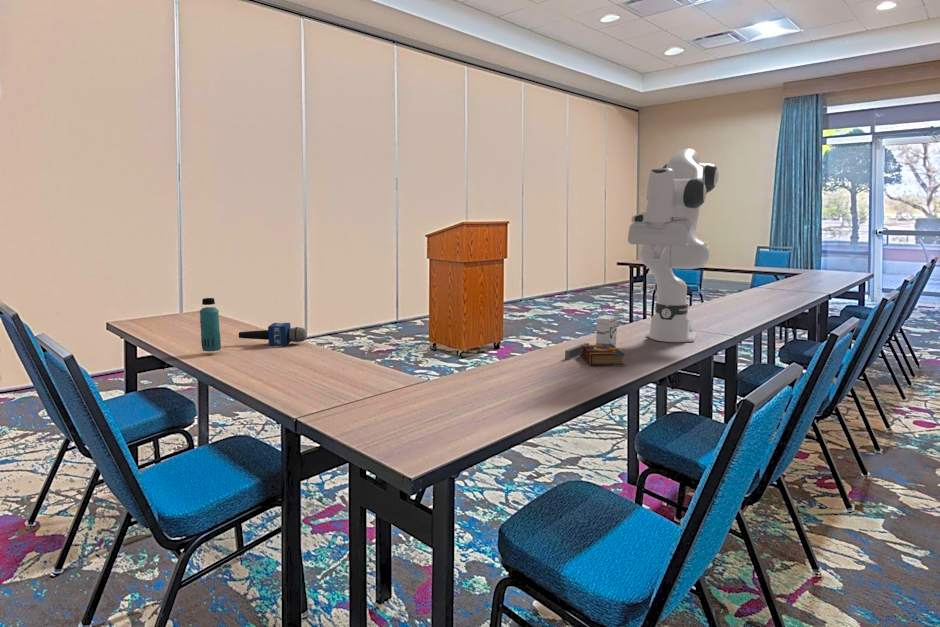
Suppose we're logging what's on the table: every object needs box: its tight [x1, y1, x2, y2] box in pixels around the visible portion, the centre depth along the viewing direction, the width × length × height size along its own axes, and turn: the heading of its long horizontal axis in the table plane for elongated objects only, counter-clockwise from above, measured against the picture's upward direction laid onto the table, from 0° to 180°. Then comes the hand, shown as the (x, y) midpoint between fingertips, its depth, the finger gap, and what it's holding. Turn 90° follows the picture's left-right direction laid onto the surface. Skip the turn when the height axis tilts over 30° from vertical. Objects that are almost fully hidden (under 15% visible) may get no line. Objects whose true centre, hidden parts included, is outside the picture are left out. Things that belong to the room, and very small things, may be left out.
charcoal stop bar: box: [564, 342, 590, 360], centre depth 220 cm, size 16×2×3 cm, turn 145°
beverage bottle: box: [199, 297, 222, 353], centre depth 221 cm, size 6×7×20 cm
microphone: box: [238, 322, 307, 347], centre depth 238 cm, size 8×8×25 cm
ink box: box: [595, 314, 618, 348], centre depth 231 cm, size 9×5×12 cm, turn 147°
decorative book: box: [580, 344, 625, 367], centre depth 212 cm, size 11×16×5 cm
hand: (657, 258), depth 212 cm, fingers closed
